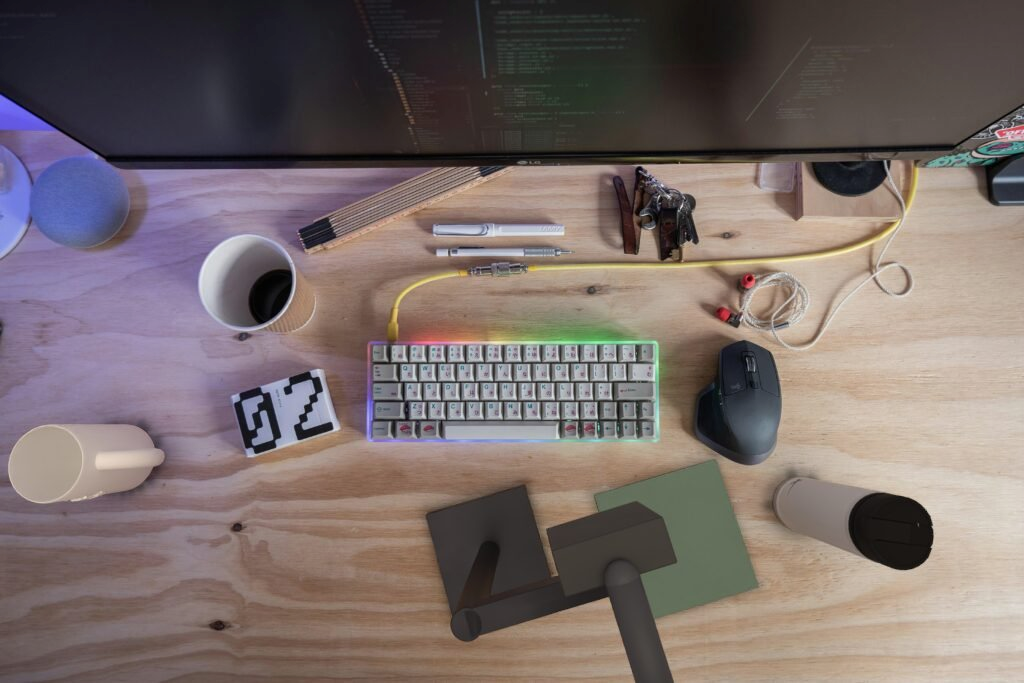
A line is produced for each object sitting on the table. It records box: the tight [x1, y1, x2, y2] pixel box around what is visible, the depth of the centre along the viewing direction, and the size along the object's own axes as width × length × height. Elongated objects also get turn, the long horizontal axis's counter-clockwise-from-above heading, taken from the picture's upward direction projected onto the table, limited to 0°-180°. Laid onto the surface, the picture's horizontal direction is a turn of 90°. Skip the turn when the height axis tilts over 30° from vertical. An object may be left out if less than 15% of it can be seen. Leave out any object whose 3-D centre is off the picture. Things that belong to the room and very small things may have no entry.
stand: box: [425, 483, 609, 643], centre depth 57 cm, size 12×17×27 cm
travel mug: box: [772, 476, 935, 571], centre depth 60 cm, size 6×7×20 cm
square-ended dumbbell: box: [545, 501, 677, 683], centre depth 32 cm, size 14×6×8 cm, turn 17°
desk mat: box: [594, 458, 760, 620], centre depth 70 cm, size 15×15×1 cm
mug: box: [7, 423, 166, 505], centre depth 67 cm, size 8×12×12 cm
